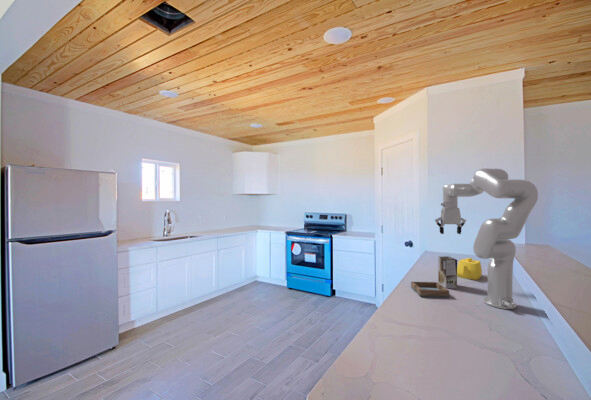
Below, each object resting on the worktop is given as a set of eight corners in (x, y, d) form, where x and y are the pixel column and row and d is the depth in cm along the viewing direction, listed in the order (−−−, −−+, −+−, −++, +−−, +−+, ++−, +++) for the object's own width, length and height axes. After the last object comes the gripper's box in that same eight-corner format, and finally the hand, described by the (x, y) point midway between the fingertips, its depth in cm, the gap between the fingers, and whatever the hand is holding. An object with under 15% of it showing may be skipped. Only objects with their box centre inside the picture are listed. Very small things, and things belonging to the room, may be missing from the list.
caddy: (449, 297, 140) (449, 290, 140) (420, 297, 141) (420, 290, 141) (436, 288, 154) (436, 282, 154) (411, 287, 155) (411, 281, 155)
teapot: (475, 282, 165) (476, 262, 165) (453, 278, 174) (453, 259, 174) (484, 275, 179) (484, 257, 178) (462, 271, 188) (462, 254, 187)
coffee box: (457, 288, 154) (457, 259, 154) (445, 288, 154) (446, 259, 154) (448, 283, 163) (449, 256, 163) (437, 283, 163) (438, 256, 163)
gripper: (437, 205, 163) (437, 234, 163) (468, 205, 161) (468, 234, 161) (432, 205, 171) (432, 232, 171) (462, 205, 169) (462, 233, 169)
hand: (450, 233), depth 166 cm, fingers open, 9 cm apart
